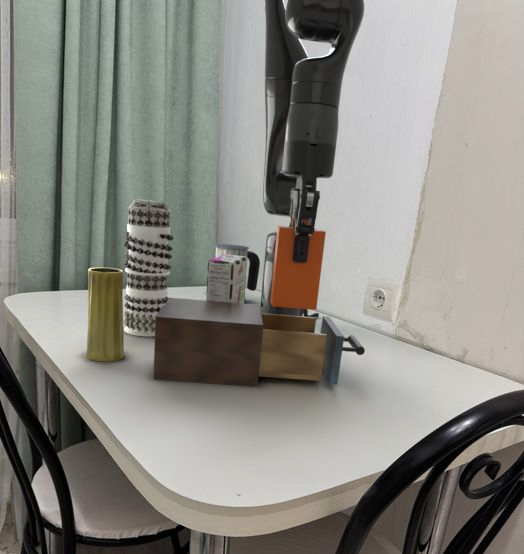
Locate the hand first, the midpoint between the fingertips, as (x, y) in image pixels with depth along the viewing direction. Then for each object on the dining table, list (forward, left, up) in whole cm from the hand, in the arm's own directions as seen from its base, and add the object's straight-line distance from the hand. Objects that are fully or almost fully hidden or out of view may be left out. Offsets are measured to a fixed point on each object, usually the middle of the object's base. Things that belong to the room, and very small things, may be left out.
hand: (297, 259), depth 78 cm
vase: (+25, -16, -19) cm, 35 cm away
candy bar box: (+2, -18, -19) cm, 26 cm away
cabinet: (+11, -6, -19) cm, 22 cm away
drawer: (-2, +1, -18) cm, 18 cm away
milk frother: (-20, -59, -19) cm, 65 cm away
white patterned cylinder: (+13, -30, -19) cm, 38 cm away
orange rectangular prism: (0, 0, -7) cm, 7 cm away
